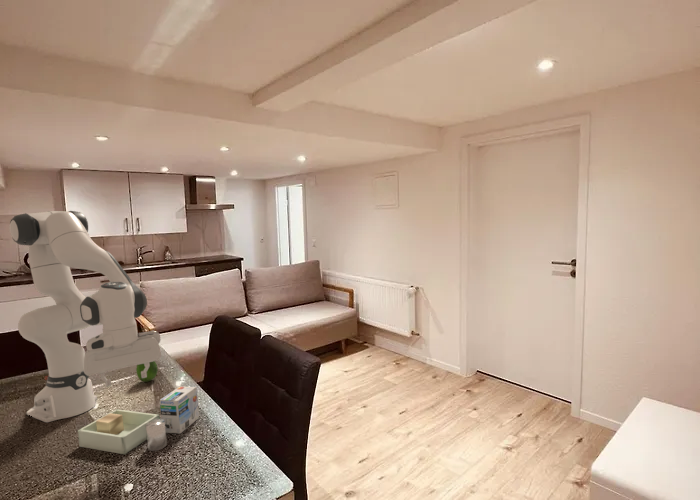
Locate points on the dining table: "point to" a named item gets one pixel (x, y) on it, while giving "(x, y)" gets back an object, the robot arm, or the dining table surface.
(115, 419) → the cube
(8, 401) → the dining table surface
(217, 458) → the dining table surface
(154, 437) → the cylinder
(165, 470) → the dining table surface
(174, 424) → the light bulb box
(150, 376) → the avocado
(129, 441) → the tote
